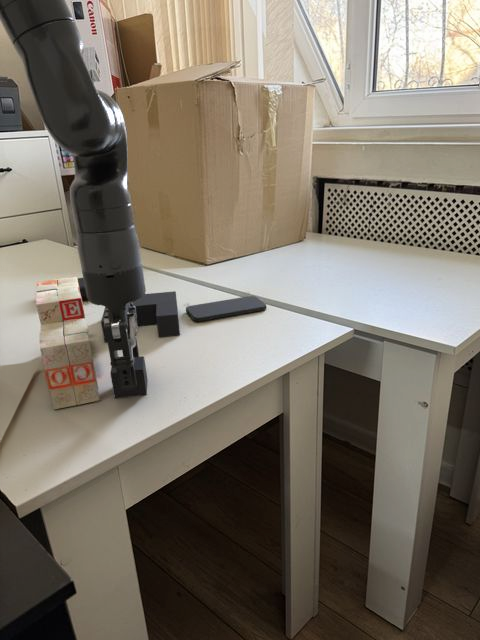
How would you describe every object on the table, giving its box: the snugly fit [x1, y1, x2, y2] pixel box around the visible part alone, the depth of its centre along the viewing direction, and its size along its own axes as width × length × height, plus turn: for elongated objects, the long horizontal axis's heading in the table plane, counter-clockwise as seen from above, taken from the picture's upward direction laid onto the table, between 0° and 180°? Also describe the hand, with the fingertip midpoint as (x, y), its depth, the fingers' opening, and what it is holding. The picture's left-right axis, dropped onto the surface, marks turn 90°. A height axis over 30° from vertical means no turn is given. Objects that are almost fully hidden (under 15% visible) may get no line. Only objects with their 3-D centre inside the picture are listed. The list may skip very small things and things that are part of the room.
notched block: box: [100, 290, 181, 344], centre depth 94 cm, size 13×13×4 cm
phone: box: [185, 295, 267, 322], centre depth 100 cm, size 7×1×15 cm
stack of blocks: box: [35, 276, 101, 410], centre depth 75 cm, size 21×6×12 cm, turn 21°
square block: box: [110, 355, 148, 399], centre depth 72 cm, size 4×4×4 cm
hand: (130, 374), depth 72 cm, fingers open, 8 cm apart
